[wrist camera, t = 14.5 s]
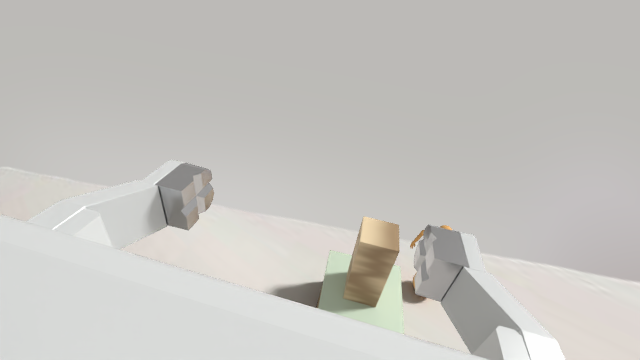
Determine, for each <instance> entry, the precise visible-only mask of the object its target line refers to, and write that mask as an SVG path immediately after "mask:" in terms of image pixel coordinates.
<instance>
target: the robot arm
mask: <svg viewBox="0 0 640 360" xmlns="http://www.w3.org/2000/svg"><path fill="white" fill-rule="evenodd" d="M211 180H212V174H211V171H210V170H209V169H206V168H202V167H199V166H195V165H191V164H188V163H183V162H180V161H176V160H169V161H168V162H166V163H165V164H164V165H162V166H161V167H159V168H158V169H157V170H155V171H154V172H153V173H151V174H150V175H149V176H147V177H146V178H144V179H143V180H142V181H137V180H136V181H132V182H128V183H124V184H121V185H117V186H113V187H109V188H105V189H101V190H97V191H93V192H90V193H86V194H82V195H78V196H74V197H70V198H66V199H63V200H60V201H58V202H57V203H55V204H53V205H52V206H50V207H49V208H47V209H45V210H44V211H42V212H40V213H39V214H37V215H36V216H34V217H32V218H31V219H29V220H28V221H26V222H25V221H22V220H19V219H15V218H12V217H9V216H5V215H2V214H0V360H565V358H564V356H563V354H562V351H561V349H560V347H559V345H558V342H557V340H556V339H555V338H554V337H553V336H552V335H551V334H550V333H549V332H548V331H547V330H546V329H545V328H544V327H543V326H542V325H541V324H540V323H539V322H538V321H537V320H536V319H535V318H534V317H533V316H532V315H531V314H530V313H529V312H528V311H527V310H526V309H525V308H524V307H523V306H522V305H521V304H520V303H519V302H518V301H517V300H516V299H515V298H514V297H513V296H512V295H511V294H510V293H509V292H508V291H507V290H506V289H505V288H504V286H503V285H502V284H501V283H500V282H499V281H498V280H497V279H496V278H495V277H494V276H493V275H492V274H490V273H486V270H485V266H484V263H483V260H482V257H481V253H480V250H479V247H478V244H477V240H476V237H475V236H474V235H472V234H467V233H463V232H456V231H452V230H448V229H444V228H440V227H436V226H432V225H428V226H427V227H426V228H425V230H424V232H423V235H424V239H423V240H421V241H419V243H418V245H417V248H416V251H415V255H414V268H415V269H416V271H417V274H416V276H415V294H417V295H420V296H423V297H427V298H430V299H433V300H436V301H440V302H441V305H442V306H443V308H444V310H445V311H446V313H447V315H448V316H449V318H450V320H451V321H452V323H453V324H454V326H455V328H456V329H457V331H458V333H459V334H460V336H461V338H462V339H463V341H464V343H465V344H466V346H467V348H468V349H469V351H470V353H471V354H469V353H465V352H462V351H459V350H455V349H452V348H449V347H445V346H442V345H439V344H435V343H432V342H429V341H425V340H422V339H418V338H415V337H412V336H408V335H405V334H402V333H398V332H395V331H392V330H388V329H385V328H382V327H378V326H375V325H372V324H368V323H365V322H361V321H358V320H355V319H351V318H348V317H345V316H341V315H338V314H335V313H331V312H328V311H324V310H321V309H318V308H314V307H311V306H308V305H304V304H301V303H298V302H294V301H291V300H288V299H284V298H281V297H277V296H274V295H271V294H267V293H264V292H261V291H257V290H254V289H251V288H247V287H244V286H241V285H237V284H234V283H230V282H227V281H224V280H220V279H217V278H214V277H210V276H207V275H204V274H200V273H197V272H193V271H190V270H187V269H183V268H180V267H177V266H173V265H170V264H167V263H163V262H160V261H157V260H153V259H150V258H146V257H143V256H140V255H136V254H133V253H130V252H126V251H123V250H120V249H122V248H124V247H126V246H128V245H130V244H132V243H134V242H136V241H138V240H140V239H142V238H145V237H147V236H149V235H151V234H153V233H155V232H157V231H159V230H161V229H163V228H165V227H167V225H169V226H173V227H177V228H181V229H185V230H189V229H190V228H191V227H192V226H193V225H194V224H195V223H196V222H197V220H198V219H199V214H200V213H202V212H205V211H206V210H207V209H208V208H209V207H210V205H211V202H212V200H213V195H214V192H213V188H212V186H211V185H210V183H209V182H210V181H211Z"/></svg>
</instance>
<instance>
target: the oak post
mask: <svg viewBox="0 0 640 360" xmlns="http://www.w3.org/2000/svg"><path fill="white" fill-rule="evenodd" d="M398 253H399V225H397V224H393V223H389V222H385V221H380V220H377V219H372V218H368V217H363V220H362V224H361V227H360V230H359V234H358V237H357V241H356V244H355V248H354V251H353V255H352V258H351V261H350V265H349V268H348V272H347V277H346V283H345V289H344V295H343V299H347V300H350V301H354V302H358V303H361V304H365V305H369V306H372V307H376V305H377V303H378V300H379V298H380V296H381V293H382V291H383V289H384V286H385V284H386V282H387V279H388V277H389V275H390V272H391V270H392V267H393V265H394V263H395V260H396V258H397V256H398Z"/></svg>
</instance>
